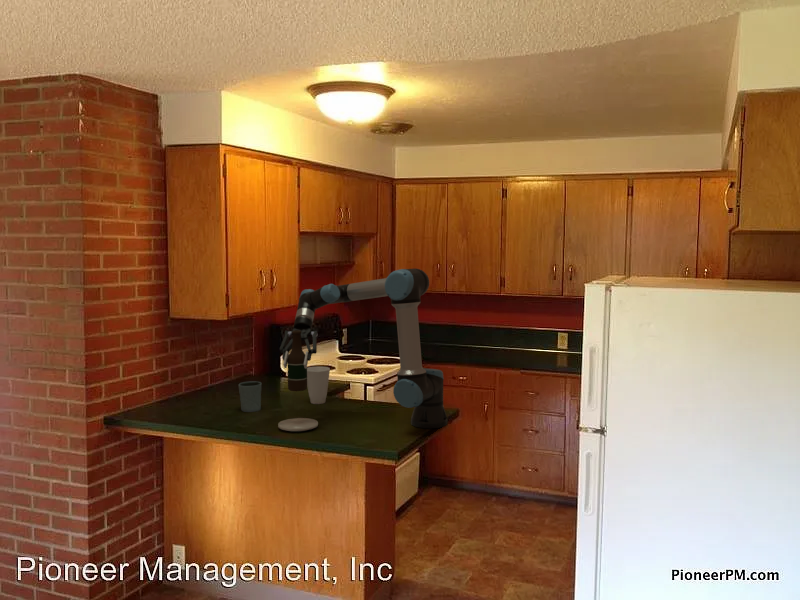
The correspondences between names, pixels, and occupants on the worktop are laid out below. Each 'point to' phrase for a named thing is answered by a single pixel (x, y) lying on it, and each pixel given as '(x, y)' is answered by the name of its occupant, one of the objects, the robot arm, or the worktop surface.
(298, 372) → the beer bottle
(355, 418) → the worktop surface
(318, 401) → the cup
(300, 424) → the dish
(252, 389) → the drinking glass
